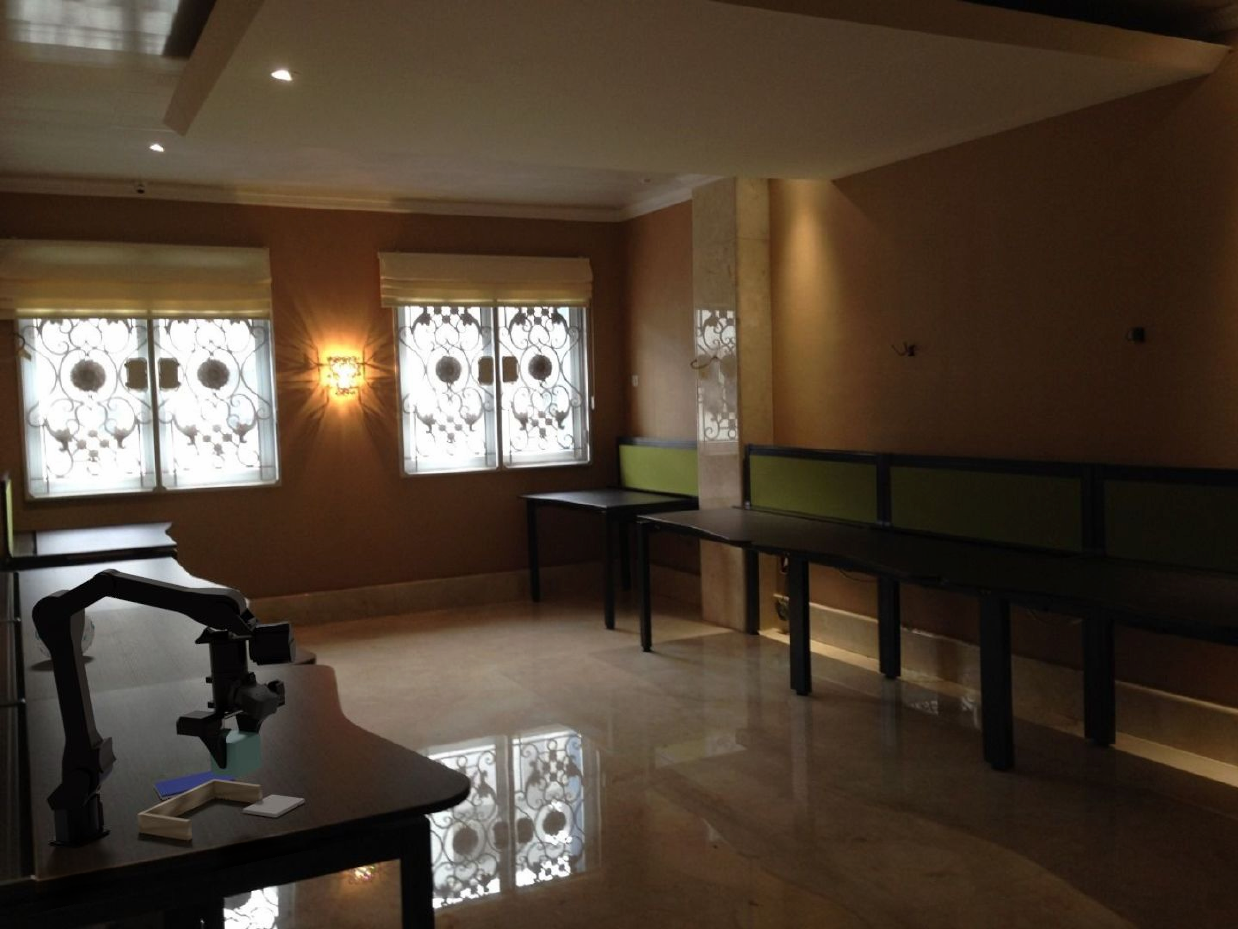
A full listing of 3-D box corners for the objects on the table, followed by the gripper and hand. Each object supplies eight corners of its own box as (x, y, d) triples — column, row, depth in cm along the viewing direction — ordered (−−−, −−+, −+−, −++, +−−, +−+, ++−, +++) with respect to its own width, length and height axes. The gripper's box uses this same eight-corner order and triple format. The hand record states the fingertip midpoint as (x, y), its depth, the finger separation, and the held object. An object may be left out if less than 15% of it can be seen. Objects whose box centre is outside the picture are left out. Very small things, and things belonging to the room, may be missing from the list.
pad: (276, 817, 179) (275, 814, 179) (243, 812, 182) (243, 809, 182) (304, 802, 185) (304, 798, 185) (272, 797, 188) (272, 794, 188)
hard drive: (225, 766, 203) (153, 782, 196) (235, 778, 196) (161, 795, 189) (225, 775, 203) (154, 790, 196) (235, 787, 196) (162, 803, 189)
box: (188, 840, 171) (186, 821, 171) (138, 832, 175) (137, 814, 175) (262, 802, 186) (261, 785, 186) (215, 795, 191) (214, 778, 190)
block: (237, 777, 173) (235, 743, 173) (211, 774, 176) (208, 740, 175) (261, 766, 178) (259, 733, 178) (236, 763, 181) (233, 730, 180)
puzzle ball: (42, 657, 309) (38, 604, 308) (100, 650, 314) (96, 599, 313) (31, 669, 295) (26, 614, 294) (92, 662, 299) (87, 608, 298)
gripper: (225, 686, 164) (232, 788, 165) (307, 657, 181) (313, 749, 182) (170, 682, 169) (177, 780, 170) (255, 653, 186) (262, 743, 187)
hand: (236, 762), depth 177 cm, fingers closed on block, 5 cm apart
